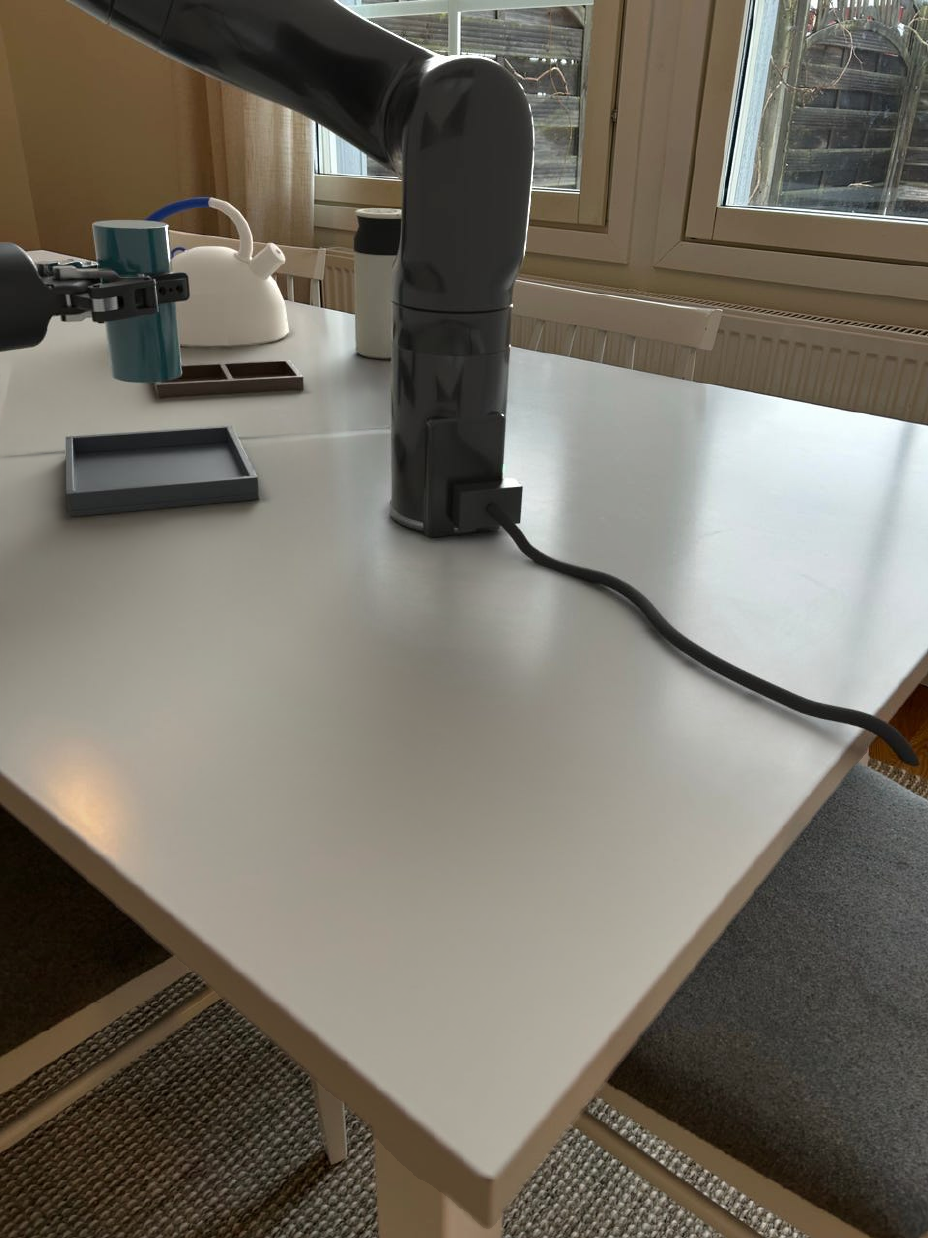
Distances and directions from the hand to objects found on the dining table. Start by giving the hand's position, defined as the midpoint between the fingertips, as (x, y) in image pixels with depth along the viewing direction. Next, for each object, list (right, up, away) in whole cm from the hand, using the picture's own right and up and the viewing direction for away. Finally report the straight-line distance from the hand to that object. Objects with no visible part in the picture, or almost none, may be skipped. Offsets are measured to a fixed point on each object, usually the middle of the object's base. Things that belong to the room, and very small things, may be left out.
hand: (162, 280), depth 80 cm
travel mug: (+14, +8, +51) cm, 53 cm away
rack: (-3, -1, +33) cm, 33 cm away
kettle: (-10, +13, +58) cm, 60 cm away
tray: (-2, -16, +6) cm, 17 cm away
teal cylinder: (-2, -7, +2) cm, 8 cm away
